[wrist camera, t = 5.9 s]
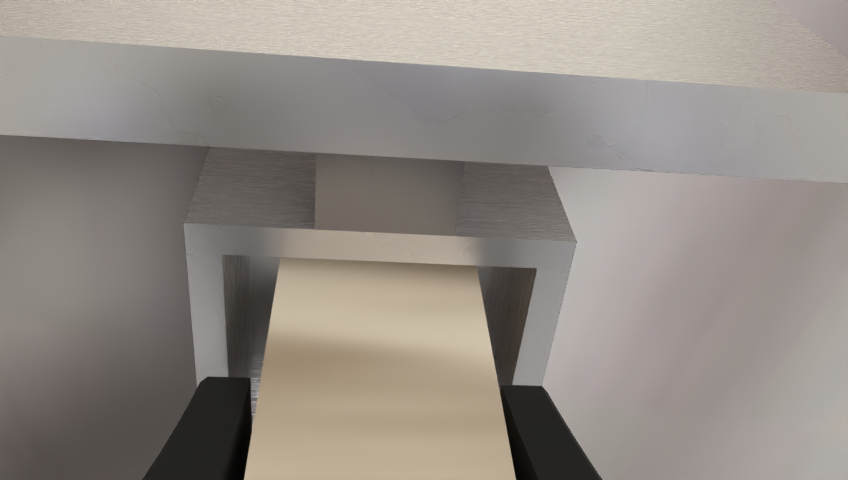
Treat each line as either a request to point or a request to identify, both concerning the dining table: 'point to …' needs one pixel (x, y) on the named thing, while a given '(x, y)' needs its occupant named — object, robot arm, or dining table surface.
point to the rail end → (378, 376)
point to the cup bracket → (418, 130)
